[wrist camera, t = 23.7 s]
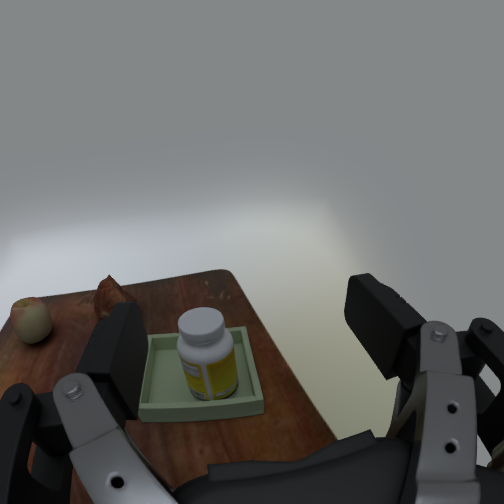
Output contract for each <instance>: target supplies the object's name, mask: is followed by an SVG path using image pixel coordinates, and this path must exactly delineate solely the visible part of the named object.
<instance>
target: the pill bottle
mask: <svg viewBox="0 0 504 504" xmlns="http://www.w3.org/2000/svg"><path fill="white" fill-rule="evenodd" d="M178 327H179V332H180V336H179V338H178V341H177V351H178V354H179V357H180V361H181V364H182V367H183V371H184V374H185V377H186V380H187V383H188V386H189V389H190V392H191V394H192V396H193V397H194V398H195V399H196V400H197V401H212V400H222V399H231V398H233V397H234V396H235V394H236V393H237V391H238V387H239V382H238V374H237V366H236V358H235V350H234V342H233V338H232V335H231V333H230V332H229V331H228V330H227V329H226V328H225V324H224V319H223V316H222V314H221V313H220V312H219V311H217V310H215V309H212V308H195V309H192V310H189V311H187V312H185V313H184V314H183V315H182V316H181V317H180V318H179V320H178Z"/></svg>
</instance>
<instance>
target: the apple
mask: <svg viewBox="0 0 504 504" xmlns="http://www.w3.org/2000/svg"><path fill="white" fill-rule="evenodd" d="M10 320H11V324H12V327H13V329H14V331H15V332H16V334H17V335H18V336H19V337H20V339H21V340H23V341H24V342H26V343H28V344H32V343H36V342H39V341H41V340H42V339H44V338H45V337H47V336H48V335H49V333H50V332H51V329H52V318H51V314H50V311H49V309H48V307H47V306H46V304H45V303H44V302H43V301H42V300H40V299H38V298H36V297H28V298H24V299H20V300H18V301H17V302H15V303H14V304H13V305H12V308H11V313H10Z"/></svg>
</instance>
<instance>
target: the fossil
mask: <svg viewBox="0 0 504 504" xmlns="http://www.w3.org/2000/svg"><path fill="white" fill-rule="evenodd" d="M130 301H135V302H136V303H137V299H136V298H134V297H133V296H131V295H130V294H129V293H127V292H125V291H124V290H122V288H121V286H120V285H119V284H118V283H117V282H116V281H115V280H114V279H113V278H112V277H111V276H110V275H108V277H107V278H106V279H104V280H102V281H101V282H100V284H99V285H98V288H97V292H96V294H95V297H94V308H95V313H96V314H97V315H98V316H99V317H100V318H102V319H103V318H104V317H106V316H109V315H110V313H111V311H112V309H113V307H114V304H115V303H117V302H130Z"/></svg>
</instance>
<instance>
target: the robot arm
mask: <svg viewBox="0 0 504 504" xmlns="http://www.w3.org/2000/svg"><path fill="white" fill-rule="evenodd" d="M344 315H345V320H346V322H347V324H348V326H349V327H350V329H351V330H352V331H353V333H354V334H355V335H356V337H357V338H358V340H359V341H360V343H361V344H362V346H363V347H364V348H365V350H366V351H367V353H368V354H369V355H370V357H371V358H372V360H373V361H374V363H375V364H376V366H377V367H378V369H379V370H380V372H381V373H382V375H383V376H384V377H385V379H386V380H388V379H390V378H393V377H396V376H398V377H399V378H400V381H399V383H398V386H397V392H396V398H395V404H394V410H393V415H392V420H391V424H390V428H389V430H388V432H387V434H386V437H378V438H377V437H376V438H375V437H374V435H373V433H372V431H371V430H367V431H364V432H362V433H359V434H356V435H353V436H350V437H347V438H344V439H342V440H338V441H335V442H333V443H331V444H330V445H328V446H326V447H324V448H322V449H320V450H319V451H317V452H315V453H313V454H311V455H309V456H307V457H305V458H303V459H301V460H298V461H293V462H277V461H253V460H249V461H241V462H232V463H222V464H208V465H207V466H208V474H206V475H202V476H200V477H197V478H195V479H192V480H190V481H188V482H186V483H184V484H183V485H181V486H180V487H178V488H177V489H176V490H174V489H173V488H172V487H171V485H170V484H169V483H168V482H167V481H166V480H165V479H164V478H163V477H162V476H161V475H160V474H159V473H158V471H157V470H156V469H155V468H154V467H153V466H152V464H151V463H150V462H149V461H148V459H147V458H146V457H145V456H144V454H143V453H142V452H141V450H140V449H139V448H138V446H137V445H136V444H135V442H134V441H133V440H132V438H131V437H130V435H129V434H128V432H127V431H126V430H125V422H126V420H137V418H138V410H139V403H140V396H141V390H142V384H143V378H144V372H145V366H146V361H147V356H148V350H149V343H148V336H147V333H146V330H145V327H144V324H143V320H142V317H141V314H140V311H139V308H138V305H137V303H136V302H135V301H130V302H117V303H115V304H114V307H113V309H112V311H111V313H110V315H109V316H106V317H104V318H103V319H102V320H101V321H100V322H99V323H98V324H97V325H96V326H95V328H94V330H93V332H92V335H91V336H92V337H90V339H89V341H88V345H87V346H86V348H85V350H84V353H83V355H82V357H81V360H80V362H79V365H78V367H77V369H76V372H75V373H72V374H69V375H66V376H65V377H63V378H62V379H60V380H59V381H58V383H57V384H56V386H55V387H54V390H53V392H47V393H42V394H36V395H35V394H34V392H33V391H32V390H31V388H30V387H29V386H28V385H26V384H24V383H18V384H14V385H12V386H11V387H9V388H8V389H7V390H6V391H5V393H4V394H3V396H2V398H1V401H0V504H70V490H71V479H72V470H73V466H74V468H75V470H76V472H77V474H78V475H79V477H80V479H81V481H82V483H83V485H84V487H85V488H86V490H87V492H88V494H89V495H90V497H91V499H92V500H93V502H94V504H504V332H503V331H502V330H501V329H500V328H499V327H498V326H497V325H496V324H495V323H494V322H492V321H491V320H489V319H486V318H475V319H473V320H472V322H471V324H470V327H469V329H468V331H460V332H455V331H454V329H453V328H452V327H450V326H449V325H447V324H445V323H443V322H439V321H429V322H427V321H426V320H425V319H424V318H423V317H422V316H421V315H420V314H419V313H418V312H417V311H416V310H415V309H414V308H413V307H411V306H410V305H409V304H408V303H406V301H405V300H404V299H403V298H402V297H400V295H399V294H397V292H395V291H394V290H393V289H392V288H390V287H388V286H386V285H384V284H382V283H380V282H379V281H377V280H376V279H375V278H374V277H373V276H372V275H371V274H369V273H366V274H360V275H354V276H351V277H350V278H349V281H348V288H347V296H346V302H345V308H344ZM485 364H487V365H488V367H489V368H490V369H491V370H492V371H493V372H494V374H495V375H496V376H497V377H498V378H499V380H500V383H501V389H500V392H499V393H498V395H497V396H496V397H495V395H494V394H493V393H492V392H491V390H490V389H489V387H488V386H487V385H486V384H485V382H484V381H483V380H482V379H481V377H480V376H479V374H480V372H481V371H482V369H483V367H484V366H485ZM477 434H478V436H479V437H480V439H481V441H482V442H483V444H484V445H485V447H486V449H487V451H488V452H489V454H490V456H491V458H492V460H491V461H490V462H489V463H488V465H487V467H484V466H480V465H477V464H476V457H477ZM32 442H34V443H35V444H36V445H37V447H36V451H35V456H34V460H33V466H32V471H31V475H30V473H29V471H28V468H27V462H28V457H29V452H30V448H31V444H32Z"/></svg>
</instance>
